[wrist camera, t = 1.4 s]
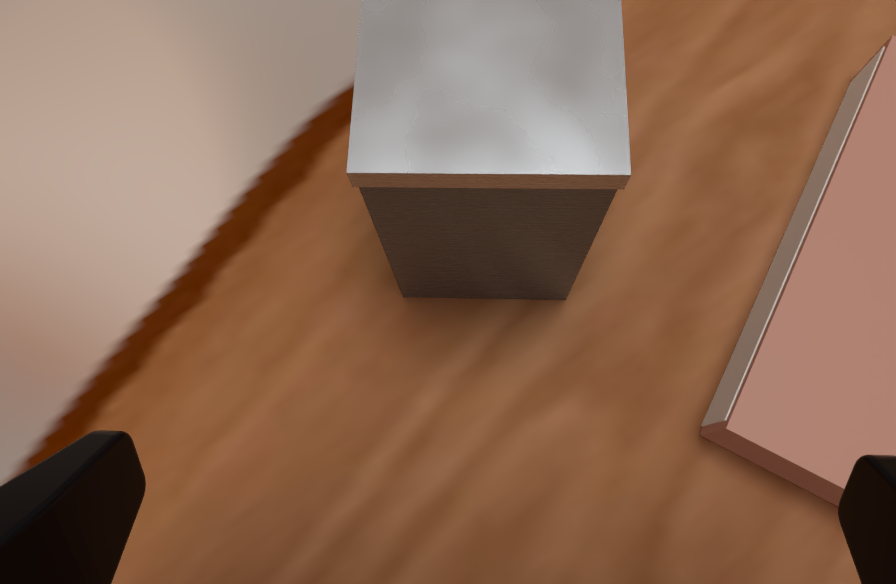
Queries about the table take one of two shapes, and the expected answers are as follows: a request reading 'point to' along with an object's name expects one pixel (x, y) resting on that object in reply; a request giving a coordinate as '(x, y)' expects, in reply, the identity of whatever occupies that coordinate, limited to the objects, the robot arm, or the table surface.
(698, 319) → the table surface
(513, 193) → the tin
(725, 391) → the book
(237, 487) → the table surface
